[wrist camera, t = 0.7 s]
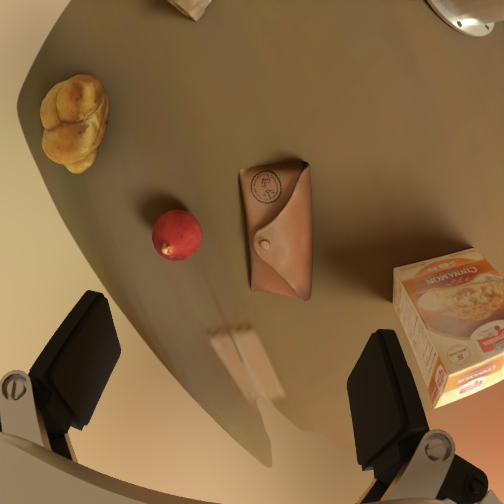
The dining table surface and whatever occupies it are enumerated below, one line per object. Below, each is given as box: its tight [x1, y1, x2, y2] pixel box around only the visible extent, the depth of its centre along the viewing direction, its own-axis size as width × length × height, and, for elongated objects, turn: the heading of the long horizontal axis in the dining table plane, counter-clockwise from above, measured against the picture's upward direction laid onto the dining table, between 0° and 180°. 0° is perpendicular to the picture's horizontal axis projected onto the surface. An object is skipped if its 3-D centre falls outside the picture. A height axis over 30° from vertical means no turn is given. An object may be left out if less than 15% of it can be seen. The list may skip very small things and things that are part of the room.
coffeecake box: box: [393, 248, 504, 408], centre depth 29 cm, size 15×7×20 cm, turn 105°
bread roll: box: [40, 74, 109, 174], centre depth 27 cm, size 13×10×8 cm
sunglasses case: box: [239, 161, 313, 302], centre depth 35 cm, size 18×7×7 cm
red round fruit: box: [152, 209, 202, 261], centre depth 33 cm, size 6×6×8 cm
